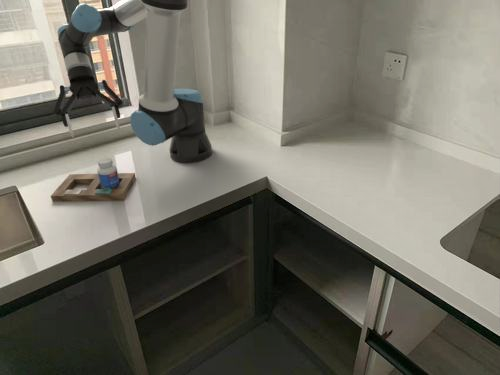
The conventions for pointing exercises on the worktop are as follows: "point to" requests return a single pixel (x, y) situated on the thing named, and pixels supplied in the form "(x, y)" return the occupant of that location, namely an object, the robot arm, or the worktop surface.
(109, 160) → the pill bottle
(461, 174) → the worktop surface
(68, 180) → the socket plate
